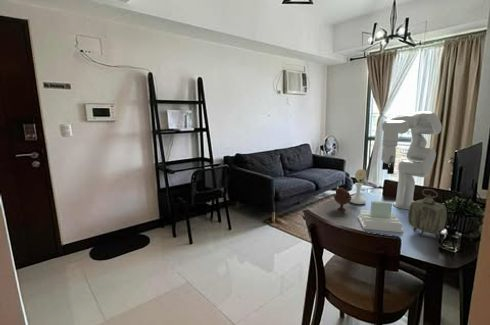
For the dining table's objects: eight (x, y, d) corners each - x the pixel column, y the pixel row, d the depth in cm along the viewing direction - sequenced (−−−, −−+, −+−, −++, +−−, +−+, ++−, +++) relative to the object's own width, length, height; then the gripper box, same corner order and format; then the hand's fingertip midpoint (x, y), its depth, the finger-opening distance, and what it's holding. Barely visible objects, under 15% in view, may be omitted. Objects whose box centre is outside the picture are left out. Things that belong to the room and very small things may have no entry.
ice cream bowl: (342, 214, 164) (344, 191, 161) (329, 208, 174) (330, 186, 171) (354, 211, 169) (356, 189, 166) (340, 205, 179) (342, 184, 176)
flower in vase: (345, 200, 190) (348, 166, 185) (360, 199, 191) (363, 166, 186) (355, 206, 177) (358, 170, 172) (370, 206, 178) (374, 170, 173)
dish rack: (394, 220, 155) (395, 212, 154) (403, 232, 140) (404, 223, 139) (357, 217, 159) (358, 210, 158) (363, 228, 144) (364, 220, 143)
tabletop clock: (443, 238, 133) (450, 191, 128) (435, 243, 128) (442, 194, 123) (412, 228, 145) (418, 184, 140) (404, 232, 140) (410, 187, 135)
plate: (388, 222, 149) (390, 202, 147) (389, 223, 147) (392, 203, 145) (369, 220, 151) (371, 200, 149) (370, 222, 149) (372, 202, 147)
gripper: (378, 141, 161) (376, 168, 165) (387, 145, 145) (385, 175, 149) (392, 140, 160) (389, 168, 164) (402, 145, 143) (399, 175, 147)
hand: (387, 171), depth 156 cm, fingers open, 9 cm apart
